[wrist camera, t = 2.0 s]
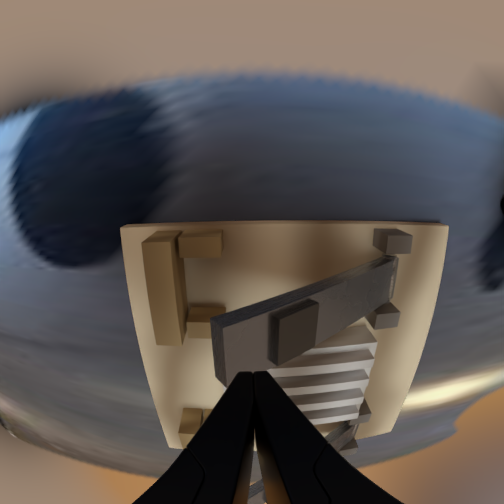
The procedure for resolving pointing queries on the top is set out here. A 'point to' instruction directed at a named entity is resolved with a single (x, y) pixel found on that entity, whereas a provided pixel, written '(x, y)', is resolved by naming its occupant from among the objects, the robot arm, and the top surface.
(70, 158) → the top surface
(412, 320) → the heatsink board
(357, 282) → the strap
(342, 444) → the strap
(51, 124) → the top surface
